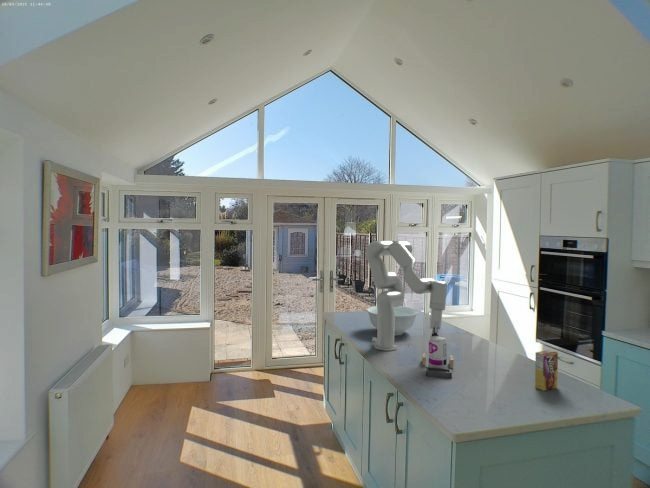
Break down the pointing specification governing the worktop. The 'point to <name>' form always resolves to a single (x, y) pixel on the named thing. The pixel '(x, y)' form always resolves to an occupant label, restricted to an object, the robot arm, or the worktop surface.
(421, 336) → the worktop surface
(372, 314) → the bowl
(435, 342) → the supplement can
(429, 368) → the pit tray
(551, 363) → the candy box
